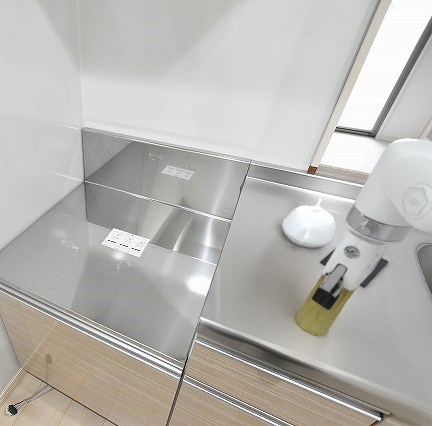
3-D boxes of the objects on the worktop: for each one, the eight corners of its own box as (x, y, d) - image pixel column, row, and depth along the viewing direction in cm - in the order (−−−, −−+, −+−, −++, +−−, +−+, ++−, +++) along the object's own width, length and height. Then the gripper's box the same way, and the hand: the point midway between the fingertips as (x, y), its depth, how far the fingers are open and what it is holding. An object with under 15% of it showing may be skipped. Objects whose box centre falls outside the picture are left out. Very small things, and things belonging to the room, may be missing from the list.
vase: (297, 331, 59) (327, 285, 51) (292, 307, 64) (318, 261, 55) (332, 339, 58) (368, 293, 49) (323, 313, 62) (355, 267, 54)
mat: (388, 262, 74) (389, 261, 74) (364, 287, 68) (365, 287, 67) (344, 240, 81) (345, 240, 80) (319, 262, 74) (319, 261, 74)
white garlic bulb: (288, 211, 92) (300, 184, 86) (334, 226, 86) (350, 197, 80) (271, 246, 79) (283, 217, 73) (323, 267, 73) (341, 236, 67)
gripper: (384, 258, 39) (327, 335, 49) (427, 213, 46) (370, 288, 57) (324, 229, 44) (284, 304, 54) (372, 192, 51) (329, 265, 62)
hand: (329, 295), depth 56 cm, fingers closed on vase, 5 cm apart
